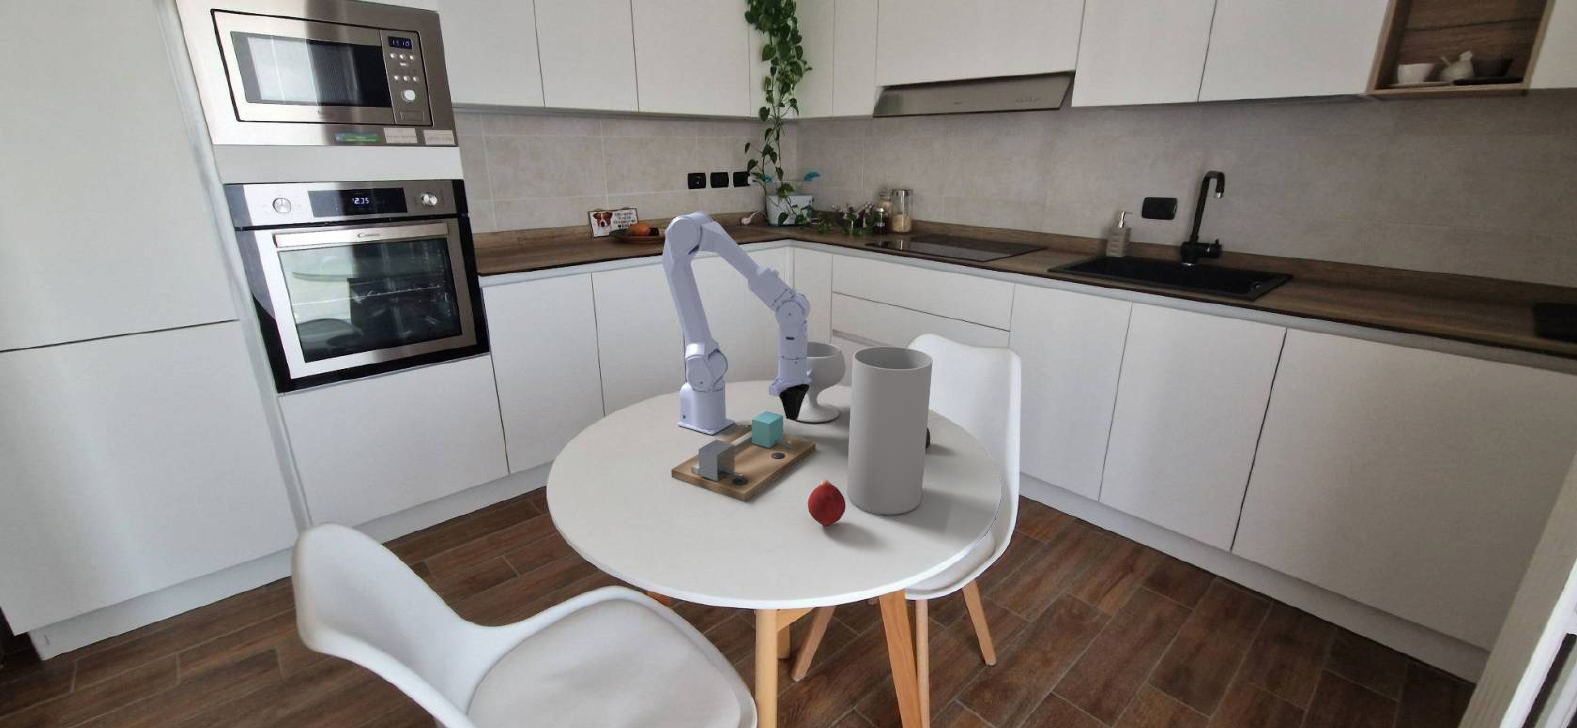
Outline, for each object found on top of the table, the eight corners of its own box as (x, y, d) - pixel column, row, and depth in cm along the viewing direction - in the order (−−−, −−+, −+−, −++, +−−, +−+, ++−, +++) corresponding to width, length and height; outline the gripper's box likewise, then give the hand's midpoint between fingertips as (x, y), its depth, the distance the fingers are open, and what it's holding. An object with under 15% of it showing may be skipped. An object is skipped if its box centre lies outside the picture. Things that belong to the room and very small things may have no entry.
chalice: (794, 429, 140) (795, 361, 135) (772, 406, 152) (772, 343, 148) (854, 420, 145) (857, 355, 140) (827, 399, 157) (829, 337, 153)
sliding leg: (751, 443, 129) (751, 419, 128) (766, 434, 133) (766, 411, 132) (784, 452, 125) (784, 427, 124) (798, 442, 129) (798, 419, 128)
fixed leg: (699, 475, 116) (698, 449, 115) (716, 464, 120) (716, 439, 119) (733, 486, 112) (733, 459, 111) (751, 475, 117) (750, 449, 115)
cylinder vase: (878, 524, 105) (887, 375, 97) (832, 491, 115) (837, 353, 107) (936, 504, 111) (949, 362, 104) (887, 474, 121) (896, 342, 114)
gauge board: (671, 476, 119) (671, 463, 119) (749, 431, 139) (748, 419, 138) (744, 501, 111) (744, 487, 111) (815, 449, 131) (816, 437, 130)
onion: (848, 519, 106) (850, 474, 104) (839, 538, 101) (840, 491, 99) (813, 513, 108) (814, 468, 106) (802, 531, 103) (803, 485, 101)
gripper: (790, 368, 125) (789, 434, 129) (827, 349, 137) (826, 411, 141) (759, 362, 128) (759, 426, 133) (798, 344, 140) (797, 404, 144)
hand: (791, 418), depth 137 cm, fingers closed
